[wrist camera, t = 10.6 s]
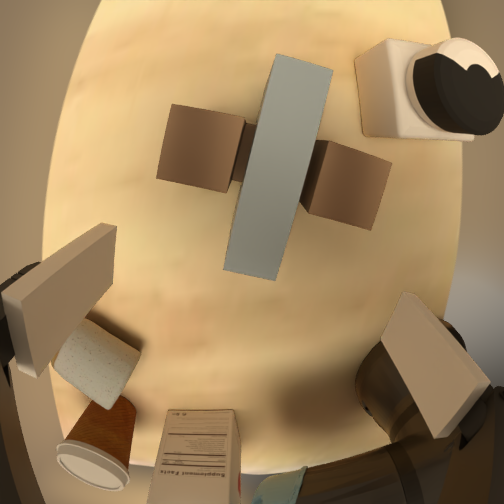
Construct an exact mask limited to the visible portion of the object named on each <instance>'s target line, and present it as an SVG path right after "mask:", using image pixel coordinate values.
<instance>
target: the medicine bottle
mask: <svg viewBox="0 0 504 504" xmlns="http://www.w3.org/2000/svg"><path fill="white" fill-rule="evenodd" d="M355 68H356V75H357V83H358V90H359V99H360V108H361V117H362V128H363V134H364V135H365V136H367V137H384V138H401V139H433V140H452V141H466V142H471V141H473V140H474V135H486V134H488V133H490V132H492V131H493V130H494V129H495V128H496V127H497V126H498V125H499V123H500V121H501V119H502V117H503V114H504V85H503V81H502V78H501V75H500V73H499V71H498V69H497V67H496V66H495V64H494V62H493V61H492V59H491V58H490V57H489V56H488V54H487V53H486V52H485V51H484V50H482V49H481V48H480V47H479V46H477V45H476V44H474V43H473V42H471V41H469V40H466V39H463V38H452V39H448V40H446V41H443V42H440V43H438V44H435V45H427V44H422V43H417V42H411V41H404V40H398V39H390V38H389V39H385V40H384V41H382V42H381V43H379V44H377V45H376V46H374V47H373V48H371V49H370V50H368V51H367V52H365V53H363V54H362V55H360V56H359V57H357V58H356V59H355Z"/></svg>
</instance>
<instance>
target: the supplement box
mask: <svg viewBox="0 0 504 504" xmlns="http://www.w3.org/2000/svg"><path fill="white" fill-rule="evenodd" d="M147 504H241V442H240V437H239V433H238V428H237V424H236V419H235V415H234V411H233V410H208V411H179V410H168V413H167V417H166V421H165V425H164V429H163V433H162V438H161V442H160V446H159V450H158V454H157V459H156V463H155V467H154V472H153V476H152V480H151V485H150V489H149V494H148V499H147Z"/></svg>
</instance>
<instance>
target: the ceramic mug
mask: <svg viewBox="0 0 504 504" xmlns="http://www.w3.org/2000/svg"><path fill="white" fill-rule="evenodd" d="M140 356H141V353H140V352H139V351H138V350H136V349H134V348H133V347H131V346H129V345H128V344H126V343H124V342H123V341H121V340H120V339H118V338H117V337H115V336H113V335H112V334H110V333H108V332H107V331H105V330H104V329H103V328H101V327H100V326H98V325H97V324H95V323H94V322H92V321H90V320H88V319H86V318H84V319H83V320H82V321H81V322H80V323H79V325H78V326H77V327H76V328H75V330H74V331H73V332H72V334H71V335H70V336H69V337H68V339H67V340H66V341H65V342H64V344H63V345H62V346H61V348H60V349H59V350H58V352H57V353H56V354H55V356H54V357H53V358H52V360H51V364H52V367H53V368H54V369H55V371H56V372H57V373H58V374H59V375H60V376H61V377H62V378H63V379H65V380H66V381H67V382H69V383H70V384H72V385H73V386H74V387H76V388H77V389H79V390H80V391H81V392H83V393H84V394H85V395H87V396H88V397H89V398H91V399H92V400H94V401H95V402H96V403H98V404H99V405H101V406H102V407H104V408H105V409H107V410H109V409H111V408H112V406H113V405H114V403H115V401H116V400H117V398H118V397H119V395H120V394H121V392H122V390H123V389H124V387H125V385H126V383H127V381H128V380H129V378H130V376H131V374H132V372H133V370H134V368H135V366H136V364H137V362H138V361H139V358H140Z"/></svg>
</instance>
